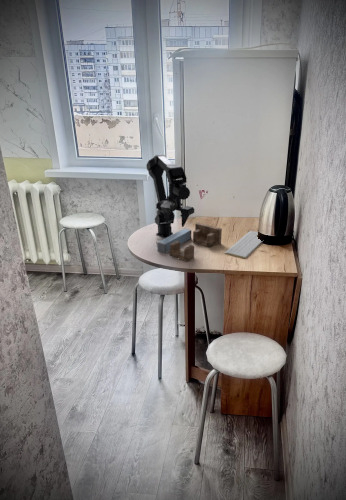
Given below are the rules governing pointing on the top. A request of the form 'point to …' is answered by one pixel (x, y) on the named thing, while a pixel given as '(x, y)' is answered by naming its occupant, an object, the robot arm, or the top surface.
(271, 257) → the top surface
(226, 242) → the top surface
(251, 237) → the baseboard molding
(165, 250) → the bed rail
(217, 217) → the top surface
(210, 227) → the headboard posts
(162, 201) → the robot arm
